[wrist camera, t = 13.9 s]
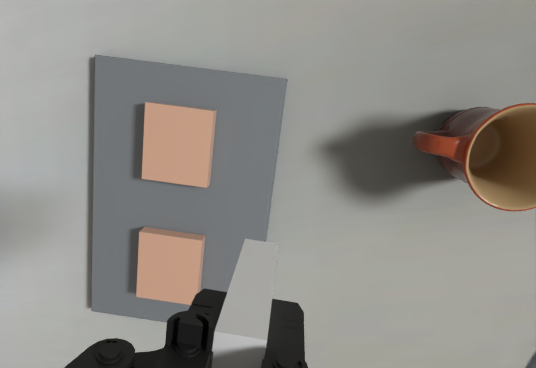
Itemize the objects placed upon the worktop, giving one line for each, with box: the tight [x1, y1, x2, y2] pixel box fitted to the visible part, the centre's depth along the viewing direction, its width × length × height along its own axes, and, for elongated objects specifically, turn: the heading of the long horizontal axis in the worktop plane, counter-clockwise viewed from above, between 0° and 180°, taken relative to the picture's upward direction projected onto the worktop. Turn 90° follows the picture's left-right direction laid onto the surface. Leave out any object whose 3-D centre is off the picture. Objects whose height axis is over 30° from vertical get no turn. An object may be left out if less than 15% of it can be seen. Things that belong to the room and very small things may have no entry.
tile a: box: [142, 102, 217, 188], centre depth 41 cm, size 8×2×7 cm
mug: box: [412, 103, 536, 211], centre depth 36 cm, size 12×9×10 cm
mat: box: [91, 55, 287, 322], centre depth 44 cm, size 30×20×1 cm, turn 173°
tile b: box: [136, 227, 205, 305], centre depth 44 cm, size 8×2×7 cm
